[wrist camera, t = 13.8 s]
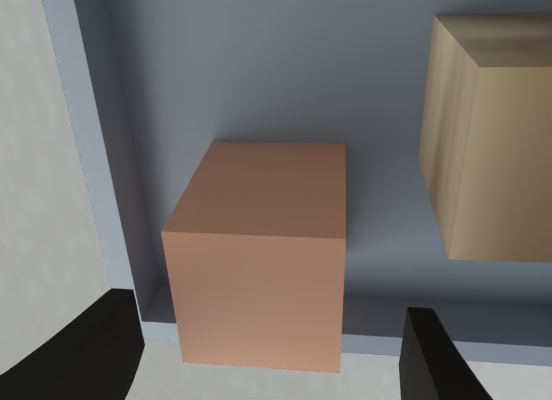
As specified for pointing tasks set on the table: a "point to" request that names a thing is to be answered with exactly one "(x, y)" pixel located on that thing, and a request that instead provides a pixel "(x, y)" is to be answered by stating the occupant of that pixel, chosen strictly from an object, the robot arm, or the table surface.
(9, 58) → the table surface
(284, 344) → the terracotta block
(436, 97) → the maple block
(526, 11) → the slate tray
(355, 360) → the table surface
